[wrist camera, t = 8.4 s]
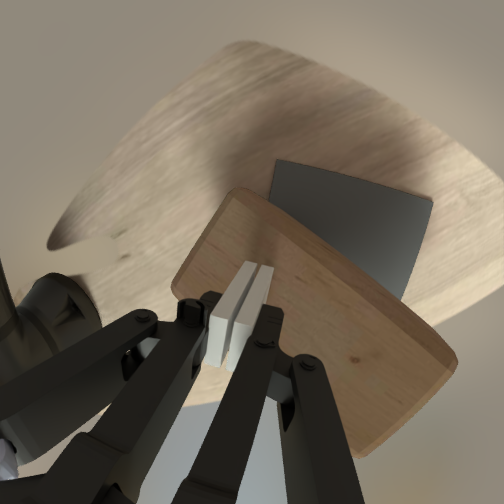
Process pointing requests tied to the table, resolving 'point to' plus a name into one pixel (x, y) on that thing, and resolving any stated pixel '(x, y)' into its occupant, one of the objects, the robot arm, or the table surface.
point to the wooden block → (326, 315)
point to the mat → (356, 219)
